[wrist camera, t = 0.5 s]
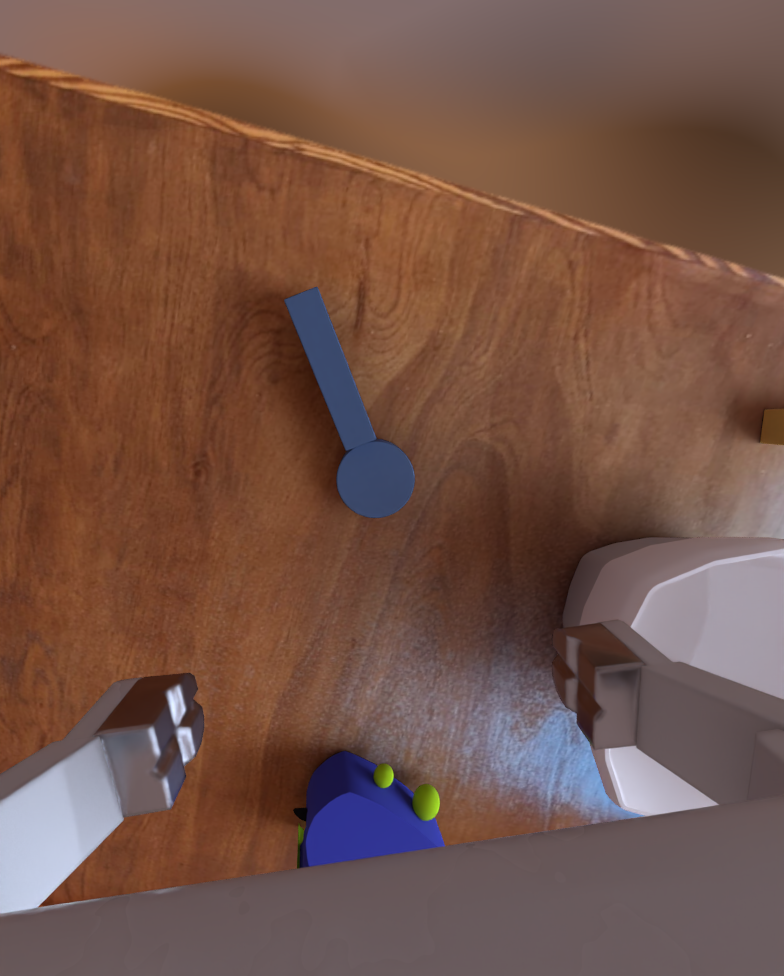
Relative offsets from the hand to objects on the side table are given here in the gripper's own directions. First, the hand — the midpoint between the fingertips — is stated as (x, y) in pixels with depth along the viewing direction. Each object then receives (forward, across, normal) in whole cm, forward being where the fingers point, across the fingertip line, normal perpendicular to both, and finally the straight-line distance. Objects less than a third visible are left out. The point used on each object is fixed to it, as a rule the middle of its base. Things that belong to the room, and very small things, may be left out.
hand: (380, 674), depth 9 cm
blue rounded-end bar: (+19, +1, -5) cm, 20 cm away
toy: (+19, +2, +25) cm, 31 cm away
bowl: (+19, -20, +12) cm, 30 cm away
